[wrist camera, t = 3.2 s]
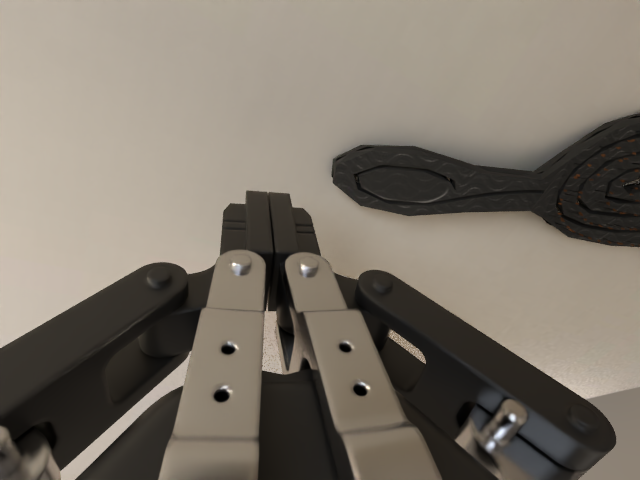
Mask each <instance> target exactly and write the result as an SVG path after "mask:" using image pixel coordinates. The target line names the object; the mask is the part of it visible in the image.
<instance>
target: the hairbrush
mask: <svg viewBox="0 0 640 480" xmlns="http://www.w3.org/2000/svg"><path fill="white" fill-rule="evenodd" d="M356 173H357V177H358V181H359V182H360V183H358V182H356V180H355V178H354V175H353V174H356ZM332 177H333V183H334V184H335V185H336V186H337V187H338V188H340V189H341V190H342V191H343V192H344V193H346V194H347V195H348V196H349V197H351V198H352V199H353V200H354V201H355V202H357V203H358V204H359V205H360V206H365V207H369V208H374V209H379V210H383V211H388V212H393V213H397V214H402V215H407V216H417V215H432V214H447V213H462V212H499V211H531V212H533V213H535V214H537V215H539V216H541V217H542V218H543V219H544V220H545V221H546V222H547V223H548V224H550V225H553V226H554V227H556V228H557V229H558V230H560V231H561V232H562V233H564V234H565V235H566V236H568V237H571V238H576V239H581V240H586V241H591V242H596V243H600V244H605V245H610V246H630V247H640V184H639V185H631V186H622V185H623V184H626V183H628V182H631V181H633V180H636V179H638V178H640V113H639V114H635V115H632V116H629V117H625V118H622V119H618V120H615V121H612V122H608V123H605V124H604V125H602V126H601V127H599V128H597V129H596V130H594V131H593V132H591V133H590V134H588V135H587V136H585V137H584V138H582V139H581V140H579V141H577V142H576V143H574V144H573V145H571V146H570V147H568V148H567V149H565V150H564V151H562V152H561V153H559V154H558V155H556V156H555V157H554V158H552V159H551V160H549V161H548V162H547V163H545V164H544V165H542V166H541V167H540V168H538V169H537V170H535V171H534V172H532V171H523V170H514V169H505V168H495V167H486V166H477V165H472V164H469V163H466V162H463V161H460V160H456V159H453V158H450V157H447V156H444V155H441V154H437V153H434V152H431V151H428V150H425V149H422V148H418V147H415V146H372V145H360V146H358V147H356V148H354V149H352V150H350V151H348V152H346V153H344V154H342V155H340V156H338V157H336V158H334V159H333V166H332ZM447 177H448V178H450V181H449V180H448V179H447ZM636 183H638V182H636ZM605 194H606V195H607V196H606V195H605ZM577 200H578V201H579V202H581V203H583V204H584V205H582V204H579V203H578V202H576V201H577ZM556 206H557V207H558V209H559V210H560V211H561V212H562V213H563V214H564V215H563V214H562V213H560V212H558V210H557V209H556Z"/></svg>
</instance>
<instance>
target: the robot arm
mask: <svg viewBox="0 0 640 480" xmlns="http://www.w3.org/2000/svg"><path fill="white" fill-rule="evenodd" d="M267 303H268V311H276V313H277V321H276V327H275V333H276V339H277V344H278V350H279V355H280V361H281V367H282V372H283V374H277V373H272V372H267V371H262V357H263V336H264V311H266V306H267ZM391 329H392V330H393V331H395V332H396V333H398V334H399V335H400V336H402V337H403V338H404V339H406V340H407V341H408V342H410V343H411V344H412V345H414V346H415V347H417V348H418V349H419V350H420V351H421V352H422V353H423V355H424V357H425V360H426V364H424V363H423V362H421V361H420V360H419V359H417V358H416V357H415V356H413V355H412V354H411V353H409V352H408V351H407V350H405V349H404V348H403V347H401V346H400V345H399V344H397V343H396V342H395V341H393V340H392V339H391V338H389V337H388V336H389V333H390V330H391ZM190 351H192V352H191V356H190V361H189V365H188V369H187V374H186V378H185V382H184V386H181V387H179V388H177V389H175V390H173V391H171V392H169V393H168V394H166V395H165V396H163V397H161V398H160V399H159V400H158V401H156V402H155V403H154V404H152V405H151V406H150V407H149V408H148V409H147V410H146V411H145V412H143V413H142V414H141V415H140V416H139V417H138V418H137V419H136V420H135V421H134V422H133V423H132V424H131V425H130V426H129V427H128V428H127V429H126V430H125V431H124V432H123V433H122V434H121V435H120V436H119V437H118V438H117V439H116V440H115V441H114V442H113V443H112V444H111V445H110V446H109V447H108V448H107V449H106V450H105V451H104V452H103V453H102V454H101V455H100V456H99V457H98V458H97V459H96V460H95V461H94V462H93V463H92V464H91V465H90V466H89V467H88V468H87V469H86V470H85V471H84V472H83V473H81V474H80V475H79V476H78V477H77V478H76V479H75V480H578V479H579V478H580V477H581V476H582V475H584V473H586V472H587V471H588V470H589V469H590V468H591V467H592V466H594V465H595V464H596V463H597V462H598V461H599V460H600V459H602V458H603V457H604V456H605V455H606V454H607V453H608V452H609V451H611V450H612V449H613V448H614V446H615V444H616V435H615V432H614V429H613V427H612V425H611V424H610V422H609V421H608V419H607V418H606V417H605V416H604V415H603V413H602V412H600V410H598V409H597V408H596V407H595V406H593V405H592V404H591V403H590V402H588V401H587V400H585V399H584V398H582V397H581V396H579V395H577V394H576V393H574V392H573V391H571V390H570V389H568V388H567V387H565V386H564V385H562V384H560V383H559V382H557V381H556V380H554V379H553V378H551V377H550V376H548V375H547V374H545V373H543V372H542V371H540V370H539V369H537V368H536V367H534V366H533V365H531V364H530V363H528V362H526V361H525V360H523V359H522V358H520V357H519V356H517V355H516V354H514V353H513V352H511V351H510V350H508V349H506V348H505V347H503V346H502V345H500V344H499V343H497V342H496V341H494V340H493V339H491V338H489V337H488V336H486V335H485V334H483V333H482V332H480V331H479V330H477V329H476V328H474V327H472V326H471V325H469V324H468V323H466V322H465V321H463V320H462V319H460V318H459V317H457V316H455V315H454V314H452V313H451V312H449V311H448V310H446V309H445V308H443V307H442V306H440V305H438V304H437V303H435V302H434V301H432V300H431V299H429V298H428V297H426V296H425V295H423V294H421V293H420V292H418V291H417V290H415V289H414V288H412V287H411V286H409V285H408V284H406V283H404V282H403V281H401V280H400V279H398V278H397V277H395V276H394V275H392V274H390V273H387V272H384V271H380V270H369V271H366V272H364V273H362V274H361V275H360V276H359V279H358V280H355V279H352V278H348V277H344V276H341V275H338V274H336V273H334V272H333V270H332V268H331V265H330V264H329V262H328V261H327V260H326V259H324V258H323V257H321V254H320V250H319V246H318V242H317V238H316V234H315V230H314V227H313V223H312V219H311V216H310V215H309V214H308V213H307V212H306V211H305V210H304V209H303V208H293V207H292V204H291V199H290V194H287V193H274V192H269V193H267V192H260V191H246V203H245V204H232V203H230V205H229V206H228V207H227V208H226V209H225V210H224V212H223V224H222V236H221V248H220V256H219V257H218V259H217V261H216V264H215V265H214V266H212V267H211V268H209V269H207V270H205V271H202V272H198V273H193V274H188V275H187V273H186V271H185V270H184V269H183V268H182V267H180V266H178V265H176V264H172V263H165V262H160V263H152V264H148V265H146V266H143V267H141V268H139V269H138V270H136V271H134V272H132V273H131V274H129V275H127V276H125V277H124V278H122V279H120V280H118V281H117V282H115V283H113V284H112V285H110V286H108V287H106V288H105V289H103V290H101V291H99V292H98V293H96V294H94V295H92V296H91V297H89V298H87V299H85V300H84V301H82V302H80V303H79V304H77V305H75V306H73V307H72V308H70V309H68V310H66V311H65V312H63V313H61V314H59V315H58V316H56V317H54V318H52V319H51V320H49V321H47V322H46V323H44V324H42V325H40V326H39V327H37V328H35V329H33V330H32V331H30V332H28V333H26V334H25V335H23V336H21V337H19V338H18V339H16V340H14V341H13V342H11V343H9V344H7V345H6V346H4V347H2V348H0V480H61V473H60V471H61V470H62V469H63V468H64V467H66V466H67V465H68V464H69V463H70V462H71V461H72V460H73V459H75V458H76V457H77V456H78V455H79V454H80V453H81V452H82V451H84V450H85V449H86V448H87V447H88V446H89V445H90V444H91V443H93V442H94V441H95V440H96V439H97V438H98V437H99V436H100V435H102V434H103V433H104V432H105V431H106V430H107V429H108V428H109V427H111V426H112V425H113V424H114V423H115V422H116V421H117V420H118V419H120V418H121V417H122V416H123V415H124V414H125V413H126V412H127V411H129V410H130V409H131V408H132V407H133V406H134V405H135V404H136V403H137V402H139V401H140V400H141V399H142V398H143V397H144V396H145V395H146V394H148V393H149V392H150V391H151V390H152V389H153V388H154V387H155V386H157V385H158V384H159V383H160V382H161V381H162V380H163V379H164V378H166V377H167V376H168V375H169V374H170V373H171V372H172V371H173V370H175V369H176V368H177V367H178V366H179V365H180V364H181V363H182V362H183V361H184V360H185V359H186V358H187V357H188V355H189V352H190Z"/></svg>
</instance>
